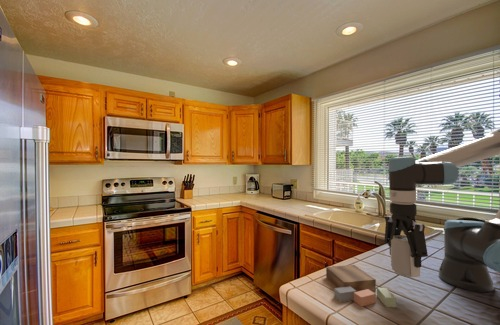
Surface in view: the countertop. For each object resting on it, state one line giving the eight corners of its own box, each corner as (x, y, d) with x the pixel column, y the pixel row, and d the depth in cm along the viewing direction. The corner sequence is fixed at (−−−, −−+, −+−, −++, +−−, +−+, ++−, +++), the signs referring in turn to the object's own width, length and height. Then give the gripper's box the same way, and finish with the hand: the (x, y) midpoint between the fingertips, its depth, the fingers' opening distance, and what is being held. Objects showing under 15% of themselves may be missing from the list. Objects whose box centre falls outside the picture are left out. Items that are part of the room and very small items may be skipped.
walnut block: (354, 274, 93) (354, 264, 93) (375, 291, 81) (375, 279, 81) (326, 277, 90) (326, 267, 90) (344, 294, 79) (344, 282, 79)
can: (407, 267, 82) (406, 233, 82) (424, 277, 74) (423, 240, 75) (387, 268, 82) (385, 234, 82) (401, 278, 74) (400, 240, 74)
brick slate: (349, 294, 79) (349, 286, 79) (356, 299, 76) (356, 290, 76) (334, 297, 77) (334, 288, 77) (340, 302, 74) (340, 293, 74)
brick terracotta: (367, 298, 77) (367, 289, 77) (375, 303, 74) (375, 293, 74) (353, 301, 75) (353, 292, 75) (361, 307, 72) (361, 297, 72)
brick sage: (376, 296, 78) (376, 287, 78) (386, 296, 78) (386, 287, 78) (386, 307, 72) (386, 297, 72) (396, 307, 72) (396, 298, 72)
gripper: (371, 199, 88) (373, 259, 87) (420, 208, 68) (423, 287, 67) (389, 198, 89) (390, 258, 89) (441, 207, 69) (444, 284, 69)
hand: (404, 270), depth 78 cm, fingers closed on can, 7 cm apart
